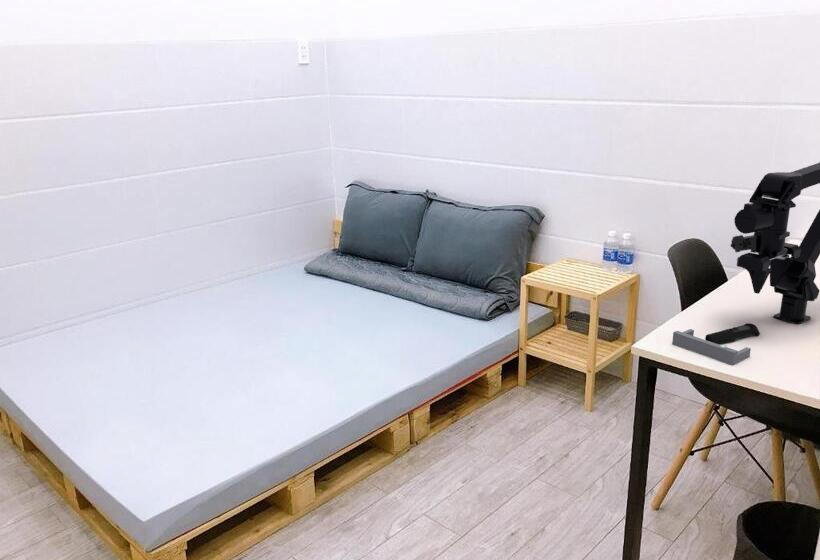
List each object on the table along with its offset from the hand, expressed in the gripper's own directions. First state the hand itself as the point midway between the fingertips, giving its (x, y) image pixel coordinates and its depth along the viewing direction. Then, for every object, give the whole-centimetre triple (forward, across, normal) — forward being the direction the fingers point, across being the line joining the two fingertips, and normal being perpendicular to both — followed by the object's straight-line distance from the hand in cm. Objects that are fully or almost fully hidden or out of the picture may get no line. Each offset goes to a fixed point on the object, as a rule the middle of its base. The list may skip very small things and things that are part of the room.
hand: (764, 289), depth 165 cm
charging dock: (+10, +22, 0) cm, 24 cm away
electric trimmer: (+10, +12, 0) cm, 16 cm away
